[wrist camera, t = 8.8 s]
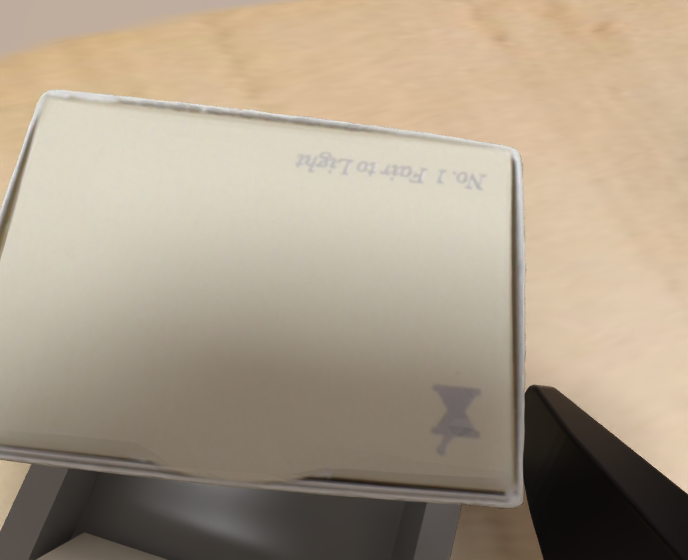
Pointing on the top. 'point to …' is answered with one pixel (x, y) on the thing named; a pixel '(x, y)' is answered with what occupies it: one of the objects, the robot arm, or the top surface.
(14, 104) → the top surface
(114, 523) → the tray
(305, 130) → the skincare box
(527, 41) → the top surface
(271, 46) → the top surface
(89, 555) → the pusher
